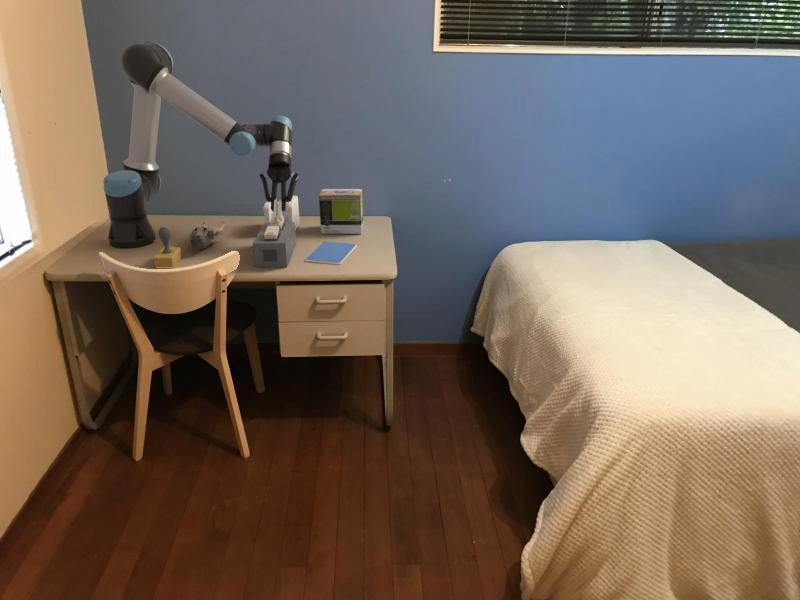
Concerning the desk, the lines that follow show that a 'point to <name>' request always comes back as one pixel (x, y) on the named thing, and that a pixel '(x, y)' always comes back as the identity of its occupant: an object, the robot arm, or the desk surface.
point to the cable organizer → (289, 214)
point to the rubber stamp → (167, 251)
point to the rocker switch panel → (275, 246)
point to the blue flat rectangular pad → (331, 253)
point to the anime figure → (205, 236)
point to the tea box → (341, 211)
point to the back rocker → (277, 222)
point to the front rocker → (271, 232)
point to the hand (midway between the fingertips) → (277, 219)
